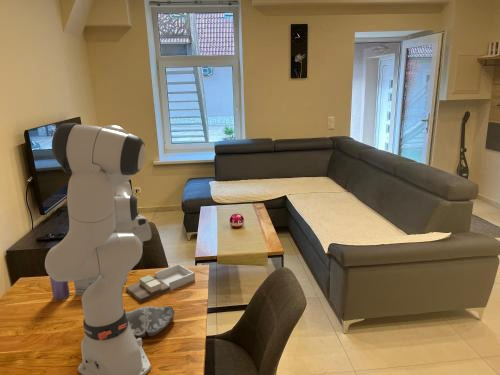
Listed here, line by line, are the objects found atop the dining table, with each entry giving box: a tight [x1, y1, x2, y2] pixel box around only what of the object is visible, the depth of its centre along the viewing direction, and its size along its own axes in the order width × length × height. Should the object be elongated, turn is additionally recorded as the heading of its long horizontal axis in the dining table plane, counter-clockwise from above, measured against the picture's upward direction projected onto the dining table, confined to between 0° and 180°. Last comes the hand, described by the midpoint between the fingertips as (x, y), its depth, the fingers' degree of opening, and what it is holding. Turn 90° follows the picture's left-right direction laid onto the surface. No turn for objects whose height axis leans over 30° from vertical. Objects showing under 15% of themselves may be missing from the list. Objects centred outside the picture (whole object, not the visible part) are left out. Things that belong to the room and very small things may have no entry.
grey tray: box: [154, 263, 196, 291], centre depth 161 cm, size 12×12×4 cm
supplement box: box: [73, 275, 128, 296], centre depth 156 cm, size 17×13×9 cm
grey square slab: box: [125, 276, 171, 303], centre depth 153 cm, size 13×13×2 cm
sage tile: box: [138, 274, 154, 288], centre depth 155 cm, size 4×4×2 cm
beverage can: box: [49, 276, 70, 301], centre depth 149 cm, size 6×6×15 cm
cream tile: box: [146, 280, 161, 293], centre depth 151 cm, size 4×4×2 cm
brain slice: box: [125, 305, 175, 338], centre depth 129 cm, size 20×17×3 cm
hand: (127, 256), depth 142 cm, fingers open, 8 cm apart
